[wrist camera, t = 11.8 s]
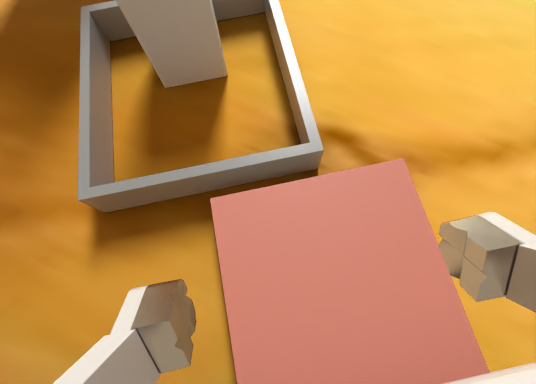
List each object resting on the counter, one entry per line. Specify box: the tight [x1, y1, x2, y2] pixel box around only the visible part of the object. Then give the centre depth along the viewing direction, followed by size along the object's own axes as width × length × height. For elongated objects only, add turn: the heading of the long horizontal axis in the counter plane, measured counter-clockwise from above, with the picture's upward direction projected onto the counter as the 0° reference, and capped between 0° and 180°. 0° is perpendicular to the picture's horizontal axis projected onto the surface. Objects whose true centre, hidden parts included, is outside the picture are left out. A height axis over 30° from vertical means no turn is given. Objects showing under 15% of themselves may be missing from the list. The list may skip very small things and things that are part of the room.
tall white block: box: [116, 0, 228, 88], centre depth 18 cm, size 4×4×8 cm
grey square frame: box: [78, 0, 324, 213], centre depth 19 cm, size 13×14×2 cm
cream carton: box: [210, 158, 490, 384], centre depth 10 cm, size 5×5×9 cm
